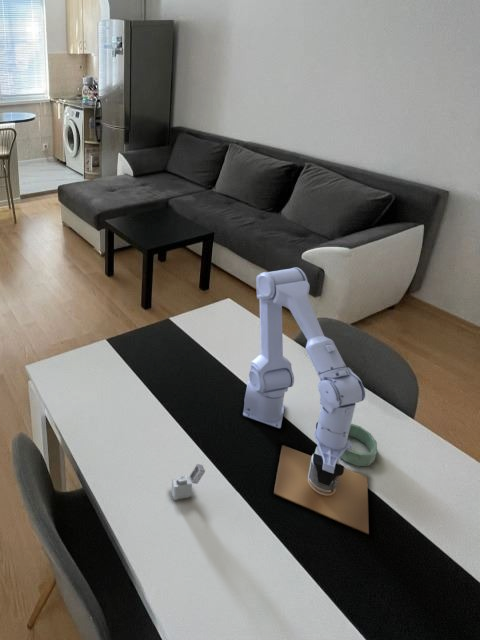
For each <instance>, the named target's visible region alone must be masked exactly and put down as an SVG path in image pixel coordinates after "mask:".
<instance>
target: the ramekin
mask: <svg viewBox="0 0 480 640" xmlns="http://www.w3.org/2000/svg"><path fill="white" fill-rule="evenodd" d="M348 437H351V438H355V439H357V440H359V441H360V442H361V443H363V444H364V445H365V446H366V447H367V449H368V450H369V451H370V452H358V451H355V450H352V451H349V450H345V451H344V453H343V454H342V456H341V457H340V459H342V460H343V461H344V462H346V463H349V464H351V465H354V466H357V467H367V466H370V465H371V464H372V463H373V462H374V461H375V460H376V456H377V453H378V442H377V440H376V439H375V438H374V436H373V435H372V433H370V432H369V431H368V430H366V429H365V428H363V427H362V426H360V425H357V424H354V423H351V426H350V430H349V434H348Z"/></svg>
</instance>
